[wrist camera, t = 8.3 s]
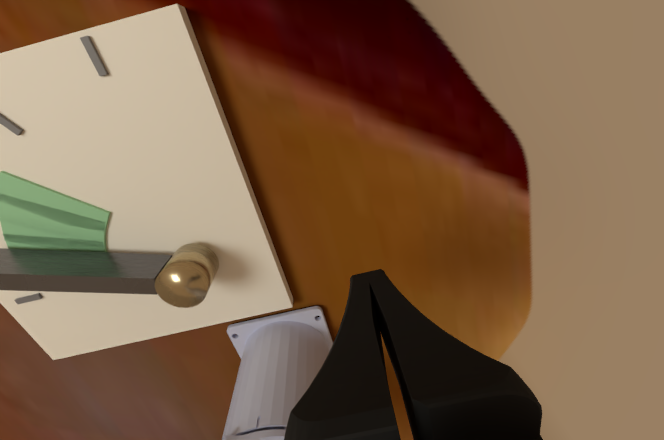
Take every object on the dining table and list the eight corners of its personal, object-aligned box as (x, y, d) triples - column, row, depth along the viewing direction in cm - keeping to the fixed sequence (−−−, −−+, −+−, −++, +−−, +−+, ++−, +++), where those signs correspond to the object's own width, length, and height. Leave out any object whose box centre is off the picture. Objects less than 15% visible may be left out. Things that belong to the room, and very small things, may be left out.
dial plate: (293, 298, 25) (292, 309, 24) (62, 349, 26) (51, 362, 25) (184, 7, 16) (175, 3, 15) (-158, 102, 17) (-189, 105, 16)
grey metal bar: (217, 244, 21) (204, 268, 18) (220, 280, 22) (208, 308, 20) (-12, 234, 20) (-59, 259, 17) (6, 274, 21) (-36, 302, 18)
